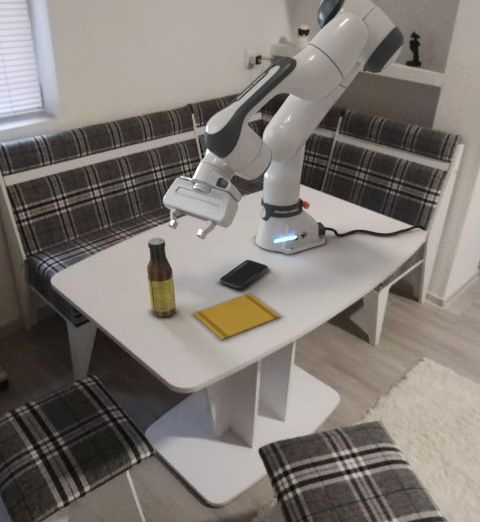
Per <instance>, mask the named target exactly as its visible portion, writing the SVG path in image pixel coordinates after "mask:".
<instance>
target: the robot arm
mask: <svg viewBox="0 0 480 522" xmlns="http://www.w3.org/2000/svg"><path fill="white" fill-rule="evenodd" d="M316 20H317V23H318V25H319V28H320V30H319V31H318V32H317V33H316V34H315V36H314V37H313V38H312V39H311V40H310V41H309V42H308V44H307V45H306V46H305V47H304V48H303V49H302V50H301V51H300V52H299V53H297V54H295V55H294V56H292V57H290V56H283V57H280V58H279V59H278V60H275V61H274V62H273V63H272V64H270V65H269V66H268V67H266V69H265V70H263V72H262V73H260V75H258V76H257V77H256V78H255V79H254V80H253V81H252V82H250V83H249V85H247V86H246V88H244V89H243V90H242V91H241V92H240V93H239V94H238V95H236V97H235V98H233V99H232V100H231V101H230V102H229V103H228V104H226V105H225V106H224V107H222V108H220V109H219V110H218V111H216V112H215V113H214V114H213V115H211V117H209V118H208V120H207V122H206V123H205V126H204V132H203V139H204V146H205V148H206V151H205V154H204V157H202V160H200V161H199V163H198V166H197V168H196V169H195V171H194V174H193V176H192V177H190V176H187V175H180V176H178V177H176V178H175V179H174V181H173V182H172V184H171V185H170V187H169V188H168V190H167V191H166V193H165V195H164V196H163V198H162V204H163V205H164V206H165V207H166V208H167V209H168V210H169V219H170V220H169V221H168V224H167V226H168V227H169V228H170V229H173V230H176V229H177V227H178V226H179V223H178V222H177V217H179V216H180V214H182V215H185V216H188V217H191V218H194V219H197V220H200V221H202V222H206V226H204V227H203V228H199V230H198V231H197V233H196V237H198V238H199V239H201V240H205V239H206V238H207V235H209V233H211V232H212V231H214V229H215V228H216V226H217V227H222V228H224V229H227V228H229V227H230V226H231V225H232V224H233V221H234V220H235V217H236V215H237V212H238V210H239V204H238V203H239V202H241V200H242V199H243V195H242V194H241V192H240V191H239V190H238V188H237V187H236V186H235V185H234V184H233V183H232V182H231V181H232V178H233V177H234V176H237V177H239V178H240V179H243V180H246V181H256V180H257V179H260V178H261V177H263V184H262V185H263V186H262V187H263V188H262V197H261V200H260V201H261V202H260V220H259V221H260V223H259V226H258V230H257V233H256V237H255V241H254V242H255V243H256V245H257V246H258V247H260V248H262V249H265V250H267V251H272V252H279V253H283V254H287V255H293V254H296V253H299V252H302V251H306V250H308V249H311V248H315V247H317V246H321V245H322V246H323V245H324V244H325V243H326V238H325V236H326V232H327V231H331V232H332V233H334V235H335V236H336V237H338V238H341V237H347V236H349V235H352V234H356V233H361V234H367V235H368V234H369V235H373V236H378V237H392V236H396V235H399V234H402V233H406V232H409V231H412V230H415V229H421V230H422V231H426V228H425V226H424V225H421V224H416V225H413V226H410V227H407V228H404V229H403V228H402V229H399V230H396V231H393V232H378V231H377V232H376V231H372V230H368V229H352V230H350V231H347V232H344V233H338V230H337V229H335V228H333V227H329V226H328V227H327V226H324V224H323V223H322V222H321V221H317V220H316V219H315V218H314V217H313V216H312V215H311V214H310V213H308V212H307V211H306V210H308V209H309V208H310V206H311V204H310V203H309V202H308V201H306V200H303V199H302V198H301V197H300V191H301V181H302V180H301V179H302V172H303V165H304V159H305V151H306V143H307V142H308V140H309V138H310V137H311V136H312V134H313V133H314V131H316V129H317V127H318V126H319V125H320V123H321V122H322V121H323V119H325V116H327V114H328V113H329V111H330V110H331V109H332V107H333V106H334V105H335V104H336V103H337V101H338V100H339V99H340V97H342V96H343V94H344V92H345V91H346V89H348V87H349V86H350V85H351V84H352V82H353V81H354V79H356V76H357V75H358V73H359V72H360V70H361V69H362V67H363V69H362V72H364V73H366V72H368V73H372V74H378V73H382V71H385V70H386V69H388V68H389V67H391V66H392V65H393V64H394V63H395V62H396V60H397V59H398V57H399V56H400V53H401V51H402V49H403V46H404V44H405V36H404V34H403V32H402V30H401V29H400V27H399V26H396V25H395V24H394V22H393V21H392V20H391V18H389V16H388V15H387V14H386V13H385V12H384V10H382V8H380V7H379V6H378V5H376V4H375V3H374V2H373V1H372V0H321V1H320V4H319V7H318V9H317V12H316ZM280 94H289V95H288V96H287V97H286V99H285V100H284V101H283V103H282V104H281V106H280V107H279V109H278V110H277V112H276V113H275V114H274V115H273V117H272V118H271V119H270V121H269V122H268V124H267V125H266V127H265V128H264V130H263V134H262V137H261V136H260V135H258V133H256V132H255V130H253V128H251V126H250V125H249V121H250V119H251V118H252V117H253V116H254V115H255V114H256V113H257V112H259V111H260V110H261V108H263V107H264V106H265V105H266V104H267V103H268V102H270V101H271V99H273V98H274V97H275V96H278V95H280ZM303 208H304V209H305V210H304V209H303Z"/></svg>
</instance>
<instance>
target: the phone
mask: <svg viewBox="0 0 480 522" xmlns="http://www.w3.org/2000/svg"><path fill="white" fill-rule="evenodd" d="M268 271H269V266H268V265H266V264H264V263H261V262H257V261H254V260H252V259H246V260H244V261H243V262H241V263H239V264H238V265H237V266H236V267H234V268H233V269H231V270H229V272H227V273H226V274H224V275H223V276H221V277H220V278H219V283H220V285H223V286H226V287H228V288H231V289H234V290H237V291H244V290H245V289H247V288H248V287H249V286H251V285H252V284H253V283H254V282H256V281H257V280H258V279H260V278H261V277H263V275H265V274H266V273H267V272H268Z"/></svg>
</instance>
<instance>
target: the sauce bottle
mask: <svg viewBox="0 0 480 522" xmlns="http://www.w3.org/2000/svg"><path fill="white" fill-rule="evenodd" d="M147 247H148V249H149V262H148V264H147V266H146V271H147V272H146V273H147V282H148V290H149V291H148V292H149V299H150V306H151V311H152V313H153V314H154V315H155V316H156V317H159V318H160V317H161V318H166V317H170V316H172V315H174V314H175V312H176V295H175V285H174V284H175V283H174V274H173V268H172V266H171V263H169V262H170V261H169V260H168V258H167V254H166V240H165V239H164V238H162V237H152V238H150V239H148V241H147Z"/></svg>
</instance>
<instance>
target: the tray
mask: <svg viewBox="0 0 480 522" xmlns="http://www.w3.org/2000/svg"><path fill="white" fill-rule="evenodd" d="M193 316H195V318H196V319H198V320H199V321H200V322H201V323H202V324H203V325H204V326H205V327H206V328H208V329H209V330H210V331H211V332H212V333H213V334H215V336H217V337H218V338H219V339H220V340H221V341H223V340H226V339H228V338H231V337H233V336H236V335H238V334H241V333H243V332H246V331H248V330H252V329H253V328H256V327H259V326H261V325H264V324H266V323H269V322H271V321H274V320H276V319H279V318H281V315H279V314H278V313H277V312H275V311H274V310H273V309H272V308H270V307H269V306H268V305H267V304H264V303H263V302H262V301H261V300H260V299H258V298H256V296H254V295H253V294H252V293H249V294H246V295H244V296H239V297H238V298H235V299H232V300H230V301H227V302H223V303H221V304H218V305H215V306H212V307H209V308H206V309H204V310H201V311H198V312H195V313H193Z"/></svg>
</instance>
